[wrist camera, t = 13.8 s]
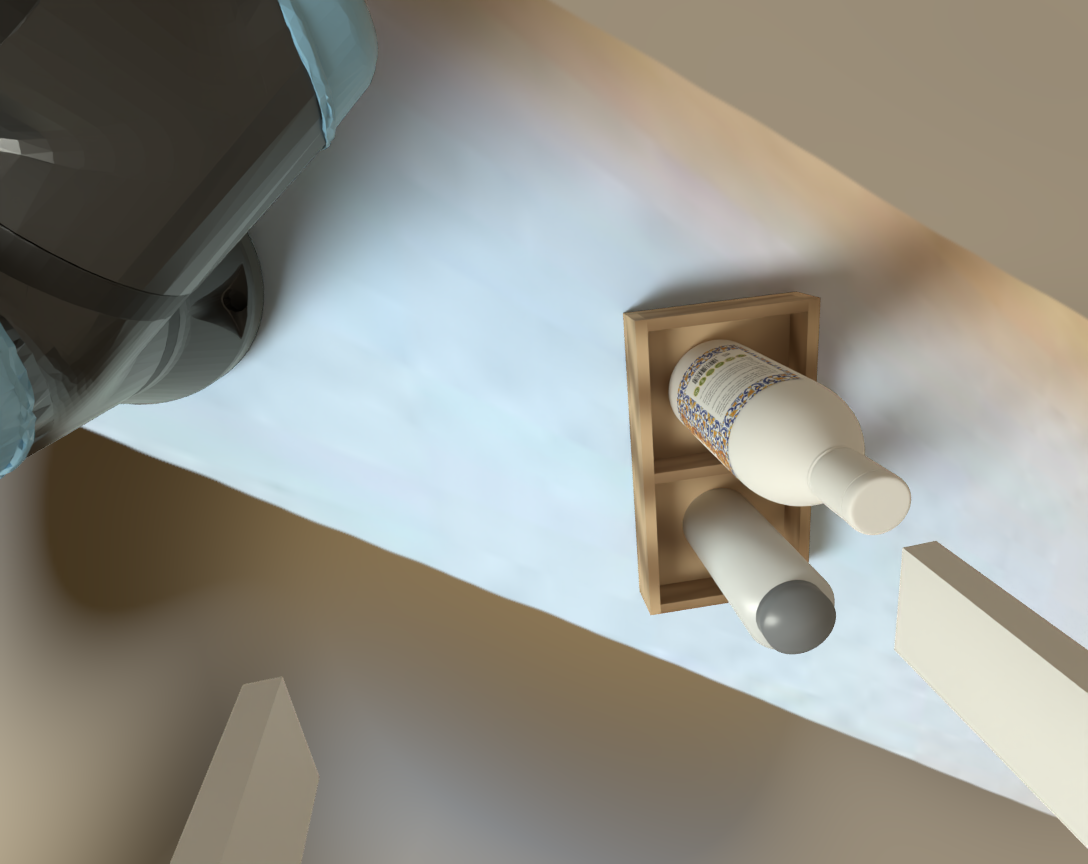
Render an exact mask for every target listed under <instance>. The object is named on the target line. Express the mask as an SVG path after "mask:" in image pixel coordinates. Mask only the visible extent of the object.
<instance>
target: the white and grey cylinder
mask: <svg viewBox="0 0 1088 864" xmlns="http://www.w3.org/2000/svg"><path fill="white" fill-rule="evenodd" d="M683 532H684V535H685V537H686V539H687V541H688V542H689V544H690V545H691V547H692V548H693V550H694V551H695V553H696V554H697V556H698V557H699V559H700V560H701V562H702V563H703V564H704V566H705V567H706V569H707V570H708V572H709V573H710V575H711V576H712V578H713V579H714V581H715V582H716V584H717V585H718V587H719V588H720V590H721V591H722V593H723V594H724V596H725V597H726V599H727V600H728V602H729V603H730V605H731V606H732V608H733V609H734V611H735V612H736V614H737V615H738V617H739V618H740V620H741V621H742V623H743V624H744V626H745V627H746V629H747V630H748V632H749V633H750V634H751V636H752V637H753V638H754V640H755V641H757V642H758V643H759V644H761V645H763V646H765V647H767V648H771V649H775V650H777V651H779V652H781V653H785V654H800V653H804V652H807V651H810V650H812V649H814V648H815V647H817V646H818V645H820V644H821V643H822V642H823V641H824V640H825V639H826V638H827V637H828V636H829V634H830V633H831V631H832V629H833V627H834V624H835V620H836V612H835V608H834V594H833V591H832V589H831V587H830V585H829V584H828V583H827V581H826V580H825V579H824V578H823V577H822V576H821V575H820V574H819V573H818V572H817V571H816V570H815V569H814V568H813V567H812V566H811V565H810V564H809V563H808V562H807V561H806V560H805V559H804V558H803V557H802V556H801V555H800V554H799V552H798V551H797V550H796V549H795V548H794V547H793V546H792V545H791V544H790V543H789V542H788V541H787V540H786V539H785V538H784V537H783V536H782V535H781V534H780V533H779V532H778V531H777V530H776V529H775V528H774V527H773V526H772V525H771V524H770V523H769V522H768V520H767V519H766V518H765V517H764V516H763V515H762V514H761V513H760V512H759V511H758V510H757V509H756V508H755V507H754V506H753V505H752V504H751V503H750V502H749V501H748V500H747V499H746V498H745V497H744V496H743V495H742V494H741V493H739V492H737V491H735V490H732V489H728V488H716V489H712V490H709V491H706V492H704V493H702V494H701V495H699V496H698V497H697V498H695V499H694V500H693V501H692V503H691V504H690V505H689V507H688V508H687V510H686V512H685V514H684V518H683Z"/></svg>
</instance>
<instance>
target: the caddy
mask: <svg viewBox="0 0 1088 864" xmlns="http://www.w3.org/2000/svg"><path fill="white" fill-rule="evenodd" d="M819 318H820V298H819V297H815V296H811V295H807V294H803V293H800V292H789V293H781V294H773V295H765V296H757V297H749V298H741V299H733V300H725V301H717V302H709V303H701V304H693V305H685V306H677V307H668V308H660V309H652V310H644V311H636V312H628V313H623V320H624V337H625V353H626V370H627V387H628V404H629V420H630V437H631V454H632V471H633V487H634V504H635V521H636V538H637V554H638V571H639V588H640V593H641V595H642V597H643V599H644V602H645V604H646V606H647V608H648V610H649V612H650V615H655V614H661V613H667V612H674V611H680V610H686V609H692V608H698V607H705V606H711V605H717V604H723V603H729V602H728V600H727V599H726V597H725V596H724V594H723V593H722V591H721V590H720V588H719V587H718V585H717V584H716V582H715V581H714V579H713V578H712V576H711V575H710V573H709V572H708V570H707V569H706V567H705V566H704V564H703V563H702V562H701V560H700V559H699V557H698V556H697V554H696V553H695V551H694V550H693V548H692V547H691V545H690V544H689V542H688V541H687V539H686V537H685V535H684V532H683V518H684V514H685V512H686V510H687V508H688V507H689V505H690V504H691V503H692V501H693V500H694V499H695V498H697V497H698V496H699V495H701V494H702V493H704V492H706V491H709V490H712V489H716V488H728V489H732V490H735V491H737V492H739V493H741V494H742V495H743V496H744V497H745V498H746V499H747V500H748V501H749V502H750V503H751V504H752V505H753V506H754V507H755V508H756V509H757V510H758V511H759V512H760V513H761V514H762V515H763V516H764V517H765V518H766V519H767V520H768V522H769V523H770V524H771V525H772V526H773V527H774V528H775V529H776V530H777V531H778V532H779V533H780V534H781V535H782V536H783V537H784V538H785V539H786V540H787V541H788V542H789V543H790V544H791V545H792V546H793V547H794V548H795V549H796V550H797V551H798V552H799V554H800V555H801V556H802V557H803V558H804V559H805V560H806V561H807V562H809V540H810V518H811V506H789V505H784V504H780V503H776V502H773V501H770V500H768V499H766V498H764V497H762V496H760V495H758V494H756V493H755V492H753V491H752V490H750V489H749V488H747V487H746V486H745V485H743V484H742V483H741V482H740V481H739V480H738V479H737V478H736V477H735V476H734V475H733V474H732V473H731V472H730V471H729V470H728V469H727V468H726V467H725V466H724V465H723V464H722V463H721V462H720V461H719V460H718V459H717V458H716V457H715V456H714V455H713V454H712V453H711V452H710V451H709V450H708V449H707V448H706V447H705V446H704V445H703V444H702V443H701V442H700V441H699V440H698V439H697V438H696V437H695V436H694V435H693V434H692V433H691V432H690V431H689V430H688V429H687V428H686V426H685V425H684V424H683V423H682V422H681V421H680V420H679V419H678V418H677V417H676V415H675V413H674V412H673V410H672V407H671V405H670V401H669V393H668V390H669V382H670V378H671V375H672V372H673V370H674V368H675V366H676V364H677V363H678V362H679V360H680V359H681V358H682V357H683V356H684V355H685V354H686V353H687V352H688V351H689V350H691V349H692V348H693V347H695V346H697V345H699V344H701V343H704V342H707V341H711V340H719V339H722V340H730V341H734V342H737V343H740V344H742V345H744V346H746V347H748V348H750V349H752V350H754V351H756V352H758V353H760V354H762V355H764V356H766V357H768V358H770V359H772V360H774V361H776V362H778V363H780V364H782V365H784V366H786V367H788V368H790V369H792V370H794V371H796V372H798V373H800V374H802V375H804V376H806V377H808V378H810V379H812V380H814V381H816V382H817V363H818V341H819Z"/></svg>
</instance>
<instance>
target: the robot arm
mask: <svg viewBox="0 0 1088 864" xmlns="http://www.w3.org/2000/svg"><path fill="white" fill-rule="evenodd" d="M377 57H378V43H377V36H376V32H375V28H374V25H373V21H372V19H371V16H370V13H369V11H368V8H367V6H366V3H365V1H364V0H0V479H1V478H2V477H3V476H4V475H5V474H6V473H9V472H12V471H13V470H15V469H16V468H17V467H18V466H19V465H20V464H21V463H22V462H23V461H24V460H25V459H26V458H27V457H29V456H31V455H32V454H34V453H36V452H38V451H39V450H41V449H43V448H45V447H46V446H48V445H49V444H51V443H53V442H55V441H56V440H58V439H60V438H62V437H63V436H65V435H67V434H69V433H70V432H72V431H74V430H75V429H77V428H79V427H81V426H82V425H84V424H86V423H87V422H89V421H91V420H93V419H94V418H96V417H98V416H99V415H101V414H103V413H105V412H106V411H108V410H110V409H111V408H113V407H115V406H117V405H118V404H137V405H142V404H158V403H164V402H169V401H173V400H177V399H181V398H184V397H187V396H189V395H192V394H194V393H196V392H198V391H200V390H202V389H204V388H206V387H207V386H209V385H211V384H212V383H214V382H215V381H216V380H218V379H219V378H221V377H222V376H224V375H225V374H226V373H228V372H229V371H230V370H231V369H232V368H233V367H234V366H235V365H236V364H237V363H238V362H239V361H240V360H241V359H242V357H243V356H244V355H245V353H246V352H247V351H248V349H249V347H250V346H251V344H252V342H253V340H254V338H255V336H256V333H257V330H258V328H259V324H260V321H261V316H262V311H263V299H264V290H263V279H262V273H261V268H260V264H259V261H258V257H257V254H256V251H255V249H254V246H253V244H252V242H251V240H250V238H249V236H248V234H247V232H248V231H249V230H250V228H251V227H252V226H253V225H254V224H255V223H256V222H257V221H258V219H259V218H260V217H261V216H262V215H263V214H264V213H265V212H266V210H267V209H268V208H269V207H270V206H271V205H272V204H273V203H274V202H275V200H276V199H277V198H278V197H279V196H280V195H281V194H282V193H283V191H284V190H285V189H286V188H287V187H288V186H289V185H290V184H291V182H292V181H293V180H294V179H295V178H296V177H297V176H298V175H299V173H300V172H301V171H302V170H303V169H304V168H305V167H306V166H307V164H308V163H309V162H310V161H311V160H312V159H313V158H314V157H315V155H316V154H317V153H318V152H319V151H320V150H324V149H327V148H328V147H329V146H330V144H331V143H330V142H331V141H332V140H333V139H334V137H335V131H336V127H337V126H338V125H339V123H340V122H341V121H342V120H343V118H344V117H345V116H346V115H347V113H348V112H349V111H350V109H351V108H352V107H353V106H354V104H355V103H356V102H357V100H358V99H359V98H360V97H361V95H362V94H363V93H364V92H365V90H366V89H367V88H368V86H369V85H370V83H371V81H372V77H373V74H374V72H375V69H376V66H375V65H376V61H377ZM894 650H895V651H896V652H897V653H898V654H899V655H900V656H901V657H902V658H903V659H904V660H905V661H906V662H907V663H908V664H909V665H910V666H911V667H912V668H913V669H914V670H915V672H916V673H917V674H918V675H919V676H920V677H921V678H922V679H923V680H924V681H925V682H926V683H927V684H928V685H929V686H930V687H931V688H932V689H933V690H934V691H935V692H936V693H937V694H938V695H939V696H940V697H941V698H942V699H943V700H944V701H945V702H946V703H947V704H948V705H949V707H950V708H951V709H952V710H953V711H954V712H955V713H956V714H957V715H958V716H959V717H960V718H961V719H962V720H963V721H964V722H965V723H966V724H967V725H968V726H969V727H970V728H971V729H972V730H973V731H974V732H975V733H976V734H977V735H978V736H979V737H980V738H981V739H982V740H983V741H984V743H985V744H986V745H987V746H988V747H989V748H990V749H991V750H992V751H993V752H994V753H995V754H996V755H997V756H998V757H999V758H1000V759H1001V760H1002V761H1003V762H1004V763H1005V764H1006V765H1007V766H1008V767H1009V768H1010V769H1011V770H1012V771H1013V772H1014V773H1015V774H1016V775H1017V776H1018V778H1019V779H1020V780H1021V781H1022V782H1023V783H1024V784H1025V785H1026V786H1027V787H1028V788H1029V789H1030V790H1031V791H1032V792H1033V793H1034V794H1035V795H1036V796H1037V797H1038V798H1039V799H1040V800H1041V801H1042V802H1043V803H1044V804H1045V805H1046V806H1047V807H1048V808H1049V809H1050V810H1051V811H1052V812H1053V814H1054V815H1055V816H1056V817H1057V818H1058V819H1059V820H1060V821H1061V822H1062V823H1063V824H1064V825H1065V826H1066V827H1067V828H1068V829H1069V830H1070V831H1071V832H1072V833H1073V834H1074V835H1075V836H1076V837H1077V838H1078V839H1079V840H1080V841H1081V842H1082V843H1083V844H1084V845H1085V846H1086V847H1087V849H1088V650H1087V649H1085V648H1084V647H1083V646H1081V645H1080V644H1078V643H1077V642H1076V641H1074V640H1073V639H1072V638H1070V637H1069V636H1067V635H1066V634H1065V633H1063V632H1062V631H1060V630H1059V629H1058V628H1056V627H1055V626H1053V625H1052V624H1051V623H1049V622H1048V621H1047V620H1045V619H1044V618H1042V617H1041V616H1040V615H1038V614H1037V613H1035V612H1034V611H1033V610H1031V609H1030V608H1028V607H1027V606H1026V605H1024V604H1023V603H1022V602H1020V601H1019V600H1017V599H1016V598H1015V597H1013V596H1012V595H1010V594H1009V593H1008V592H1006V591H1005V590H1003V589H1002V588H1001V587H999V586H998V585H997V584H995V583H994V582H992V581H991V580H990V579H988V578H987V577H985V576H984V575H983V574H981V573H980V572H978V571H977V570H976V569H974V568H973V567H972V566H970V565H969V564H967V563H966V562H965V561H963V560H962V559H960V558H959V557H958V556H956V555H955V554H953V553H952V552H951V551H949V550H948V549H947V548H945V547H944V546H942V545H941V544H940V543H938V542H937V541H933V542H928V543H923V544H919V545H914V546H909V547H904V548H903V551H902V563H901V575H900V587H899V599H898V611H897V623H896V635H895V648H894ZM318 781H319V774H318V772H317V769H316V766H315V764H314V761H313V758H312V755H311V753H310V750H309V747H308V744H307V742H306V739H305V736H304V734H303V731H302V728H301V725H300V723H299V720H298V717H297V715H296V712H295V709H294V707H293V704H292V702H291V698H290V696H289V693H288V690H287V688H286V685H285V682H284V680H283V677H277V678H273V679H268V680H263V681H258V682H253V683H248V684H243V686H242V688H241V691H240V693H239V695H238V698H237V700H236V703H235V705H234V708H233V710H232V713H231V715H230V718H229V720H228V722H227V725H226V728H225V730H224V732H223V735H222V737H221V740H220V742H219V744H218V747H217V749H216V752H215V754H214V757H213V759H212V762H211V764H210V767H209V769H208V772H207V774H206V776H205V779H204V781H203V784H202V786H201V789H200V791H199V794H198V796H197V798H196V801H195V803H194V806H193V808H192V811H191V813H190V816H189V818H188V820H187V823H186V825H185V828H184V830H183V833H182V835H181V838H180V840H179V843H178V845H177V847H176V850H175V852H174V855H173V857H172V860H171V862H170V864H301V861H302V856H303V851H304V847H305V842H306V837H307V833H308V828H309V823H310V819H311V814H312V809H313V805H314V800H315V795H316V791H317V786H318Z"/></svg>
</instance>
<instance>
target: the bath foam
mask: <svg viewBox="0 0 1088 864" xmlns="http://www.w3.org/2000/svg"><path fill="white" fill-rule="evenodd" d="M668 393H669V401H670V405H671V407H672V410H673V412H674V413H675V415H676V417H677V418H678V419H679V420H680V421H681V422H682V423H683V424H684V425H685V426H686V428H687V429H688V430H689V431H690V432H691V433H692V434H693V435H694V436H695V437H696V438H697V439H698V440H699V441H700V442H701V443H702V444H703V445H704V446H705V447H706V448H707V449H708V450H709V451H710V452H711V453H712V454H713V455H714V456H715V457H716V458H717V459H718V460H719V461H720V462H721V463H722V464H723V465H724V466H725V467H726V468H727V469H728V470H729V471H730V472H731V473H732V474H733V475H734V476H735V477H736V478H737V479H738V480H739V481H740V482H741V483H742V484H743V485H745V486H746V487H747V488H749V489H750V490H752V491H753V492H755V493H756V494H758V495H760V496H762V497H764V498H766V499H768V500H770V501H773V502H776V503H780V504H784V505H789V506H813V505H819V504H825V505H826V506H827V507H828V508H829V509H831V510H832V511H833V512H834V513H836V514H837V515H838V516H840V517H841V518H842V519H843V520H845V521H846V522H847V523H848V524H849V525H850V526H851V527H852V528H854V529H855V530H857V531H858V532H860V533H863V534H867V535H878V534H882V533H885V532H888V531H890V530H892V529H893V528H895V527H896V526H897V525H898V524H900V523H901V521H902V520H903V519H904V518H905V516H906V515H907V513H908V511H909V508H910V504H911V493H910V490H909V487H908V486H907V484H906V483H905V482H904V481H903V480H902V479H901V478H900V477H898V476H897V475H895V474H894V473H892V472H890V471H889V470H887V469H886V468H884V467H882V466H881V465H879V464H878V463H876V462H874V461H873V460H871V459H869V458H868V457H866V456H865V446H864V439H863V434H862V430H861V427H860V425H859V422H858V420H857V418H856V417H855V415H854V413H853V412H852V410H851V409H850V408H849V406H848V405H847V404H846V403H845V402H844V401H843V400H842V399H841V398H840V397H839V396H838V395H837V394H835V393H834V392H833V391H831V390H830V389H828V388H827V387H825V386H823V385H822V384H820V383H818V382H816V381H814V380H812V379H810V378H808V377H806V376H804V375H802V374H800V373H798V372H796V371H794V370H792V369H790V368H788V367H786V366H784V365H782V364H780V363H778V362H776V361H774V360H772V359H770V358H768V357H766V356H764V355H762V354H760V353H758V352H756V351H754V350H752V349H750V348H748V347H746V346H744V345H742V344H740V343H737V342H734V341H730V340H722V339H719V340H711V341H707V342H704V343H701V344H699V345H697V346H695V347H693V348H692V349H691V350H689V351H688V352H687V353H686V354H685V355H684V356H683V357H682V358H681V359H680V360H679V362H678V363H677V364H676V366H675V368H674V370H673V372H672V375H671V378H670V382H669V390H668Z"/></svg>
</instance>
